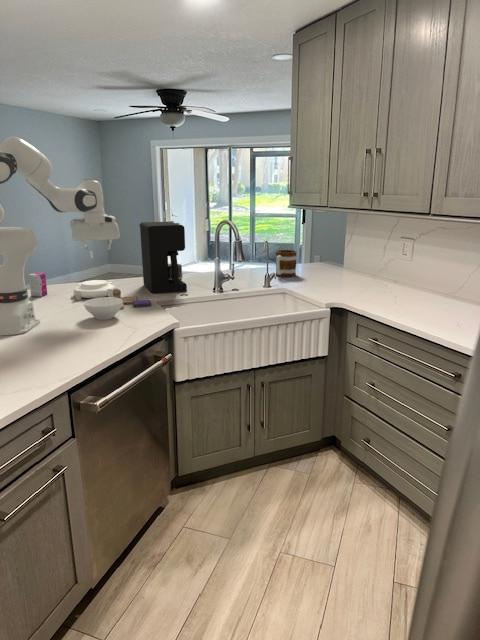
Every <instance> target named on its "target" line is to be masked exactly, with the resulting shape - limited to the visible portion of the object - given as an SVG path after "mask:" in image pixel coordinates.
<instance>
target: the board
mask: <svg viewBox="0 0 480 640" xmlns="http://www.w3.org/2000/svg"><path fill="white" fill-rule="evenodd" d="M138 297H139V296H121V299H122V300H123V302H122V303H124V306H126V305H127V306H129V305H133V301H135V300H139V298H138Z"/></svg>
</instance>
